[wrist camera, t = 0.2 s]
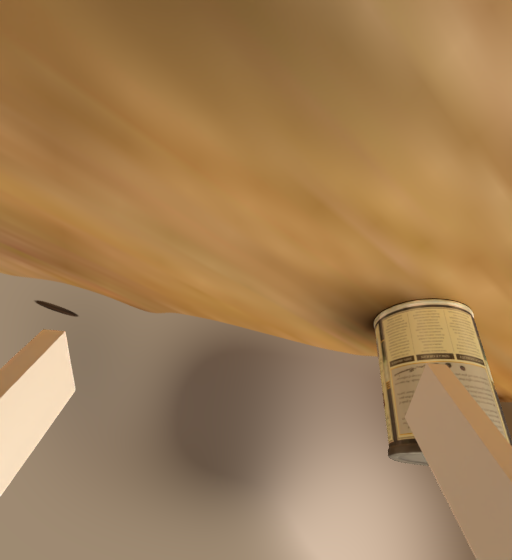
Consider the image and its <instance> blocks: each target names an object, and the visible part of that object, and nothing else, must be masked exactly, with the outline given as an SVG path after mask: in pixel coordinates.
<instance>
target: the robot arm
mask: <svg viewBox="0 0 512 560" xmlns="http://www.w3.org/2000/svg"><path fill="white" fill-rule="evenodd" d="M74 392H75V385H74V378H73V373H72V367H71V361H70V355H69V350H68V344H67V338H66V333H65V331H57V330H46V329H43V330H42V331H41V332H40V333H39V334H38V335H37V336H36V337H35V338H33V339H32V340H31V341H30V342H29V343H28V344H27V345H26V346H25V347H24V348H22V350H20V351H19V352H18V353H17V354H16V355H15V356H14V357H13V358H12V359H11V360H10V361H8V362H7V363H6V364H5V365H4V366H3V367H2V368H1V369H0V496H1V495H2V493H3V492H4V491H5V489H6V488H7V486H8V485H9V484H10V482H11V481H12V479H13V478H14V477H15V475H16V474H17V472H18V471H19V469H20V468H21V467H22V465H23V464H24V462H25V461H26V460H27V458H28V457H29V455H30V454H31V452H32V451H33V450H34V448H35V447H36V445H37V444H38V443H39V441H40V440H41V438H42V437H43V436H44V434H45V433H46V431H47V430H48V428H49V427H50V426H51V424H52V423H53V421H54V420H55V419H56V417H57V416H58V414H59V413H60V412H61V410H62V409H63V407H64V406H65V404H66V403H67V402H68V400H69V399H70V397H71V396H72V394H73V393H74ZM405 419H406V421H407V423H408V425H409V427H410V429H411V431H412V433H413V435H414V437H415V439H416V441H417V443H418V445H419V447H420V449H421V451H422V453H423V455H424V457H425V459H426V461H427V463H428V465H429V466H430V469H431V471H432V473H433V475H434V477H435V479H436V481H437V483H438V485H439V486H440V489H441V491H442V492H443V494H444V496H445V498H446V500H447V502H448V504H449V506H450V508H451V510H452V512H453V514H454V516H455V518H456V520H457V522H458V524H459V526H460V528H461V530H462V532H463V534H464V536H465V538H466V540H467V542H468V544H469V546H470V548H471V550H472V552H473V554H474V556H475V558H476V560H512V446H511V445H510V444H509V443H508V441H507V440H506V439H505V438H504V436H503V435H502V434H501V433H500V431H499V430H498V429H497V427H496V426H495V425H494V424H493V422H492V421H491V420H490V419H489V417H488V416H487V415H486V414H485V412H484V411H483V410H482V409H481V407H480V406H479V405H478V404H477V402H476V401H475V400H474V399H473V397H472V396H471V395H470V394H469V392H468V391H467V390H466V389H465V387H464V386H463V385H462V383H461V382H460V381H459V380H458V378H457V377H456V376H455V375H454V373H453V372H452V371H451V370H450V368H449V367H448V366H447V365H443V364H431V363H426V365H425V368H424V370H423V373H422V375H421V378H420V380H419V383H418V385H417V388H416V390H415V393H414V395H413V398H412V400H411V403H410V405H409V408H408V410H407V413H406V415H405Z"/></svg>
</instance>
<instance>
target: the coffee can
mask: <svg viewBox="0 0 512 560" xmlns="http://www.w3.org/2000/svg"><path fill="white" fill-rule="evenodd" d="M374 328H375V334H376V342H377V351H378V359H379V366H380V375H381V383H382V392H383V400H384V409H385V416H386V425H387V433H388V441H389V449H388V456H389V458H390V459H393V460H395V461H398V462H404V463H410V464H417V465H418V464H419V465H426V466H429V465H428V463H427V461H426V459H425V457H424V455H423V453H422V451H421V449H420V447H419V445H418V443H417V441H416V439H415V437H414V435H413V433H412V431H411V429H410V427H409V425H408V423H407V421H406V419H405V415H406V413H407V410H408V408H409V405H410V403H411V400H412V398H413V395H414V393H415V390H416V388H417V385H418V383H419V380H420V378H421V375H422V373H423V370H424V368H425V365H426V363H431V364H443V365H447V366H448V367H449V368H450V370H451V371H452V372H453V373H454V375H455V376H456V377H457V378H458V380H459V381H460V382H461V383H462V385H463V386H464V387H465V389H466V390H467V391H468V392H469V394H470V395H471V396H472V397H473V399H474V400H475V401H476V402H477V404H478V405H479V406H480V407H481V409H482V410H483V411H484V412H485V414H486V415H487V416H488V417H489V419H490V420H491V421H492V422H493V424H494V425H495V426H496V427H497V429H498V430H499V431H500V433H501V434H502V435H503V436H504V438H505V439H506V440H507V441H508V443H509V444H510V445H511V446H512V440H511V436H510V434H509V430H508V427H507V424H506V421H505V418H504V414H503V411H502V407H501V405H500V401H499V398H498V395H497V392H496V389H495V386H494V382H493V379H492V376H491V373H490V369H489V366H488V363H487V360H486V356H485V353H484V350H483V346H482V343H481V340H480V337H479V334H478V330H477V327H476V324H475V321H474V315H473V312H472V310H471V309H470V308H469V307H468V306H466V305H464V304H462V303H459V302H456V301H451V300H444V299H423V300H415V301H410V302H405V303H402V304H398V305H395V306H393V307H391V308H389V309H386V310H385V311H383V312H381V313H380V314H379V315H378V316H377V317H376V318H375V320H374Z"/></svg>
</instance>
